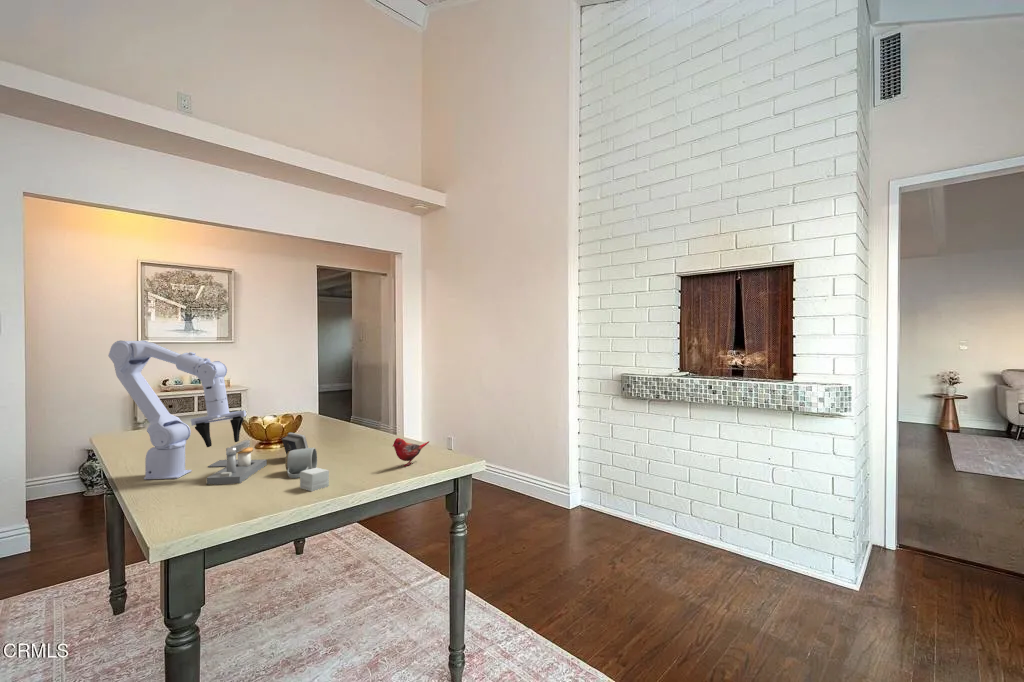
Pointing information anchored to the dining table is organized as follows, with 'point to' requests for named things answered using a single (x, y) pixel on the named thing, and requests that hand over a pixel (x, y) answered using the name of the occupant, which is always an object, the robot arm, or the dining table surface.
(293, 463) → the ceramic mug
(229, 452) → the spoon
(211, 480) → the grey panel with tab
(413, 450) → the decorative bird figurine
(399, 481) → the dining table surface
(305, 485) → the small box
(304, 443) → the electrical switch
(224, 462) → the rubber mat
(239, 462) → the mushroom
